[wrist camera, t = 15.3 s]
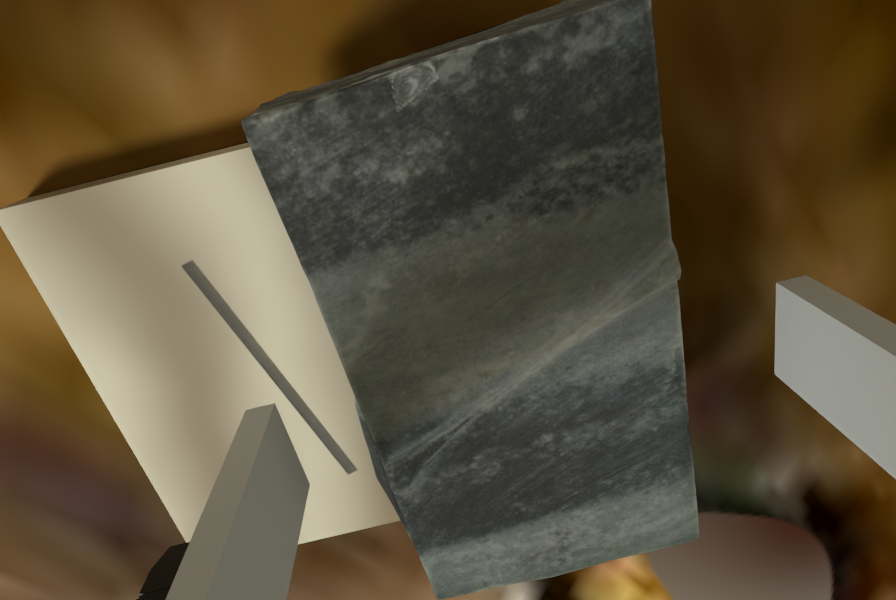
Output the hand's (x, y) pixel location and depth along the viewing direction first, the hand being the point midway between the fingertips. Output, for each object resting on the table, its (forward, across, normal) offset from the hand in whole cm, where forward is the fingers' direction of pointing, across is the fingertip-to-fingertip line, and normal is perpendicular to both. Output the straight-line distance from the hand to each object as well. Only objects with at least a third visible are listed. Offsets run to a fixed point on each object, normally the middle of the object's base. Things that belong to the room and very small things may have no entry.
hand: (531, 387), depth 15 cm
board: (+5, -4, 0) cm, 7 cm away
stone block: (+4, -1, +1) cm, 4 cm away
